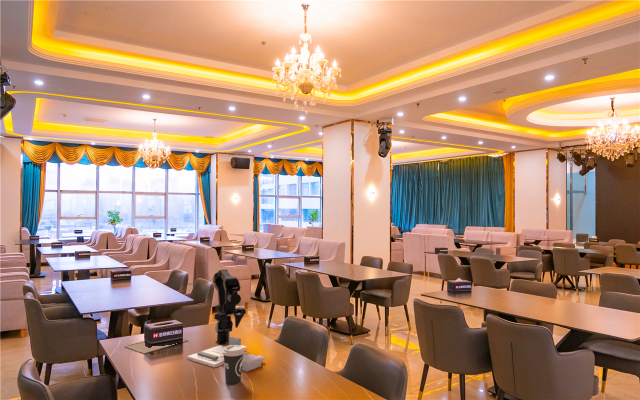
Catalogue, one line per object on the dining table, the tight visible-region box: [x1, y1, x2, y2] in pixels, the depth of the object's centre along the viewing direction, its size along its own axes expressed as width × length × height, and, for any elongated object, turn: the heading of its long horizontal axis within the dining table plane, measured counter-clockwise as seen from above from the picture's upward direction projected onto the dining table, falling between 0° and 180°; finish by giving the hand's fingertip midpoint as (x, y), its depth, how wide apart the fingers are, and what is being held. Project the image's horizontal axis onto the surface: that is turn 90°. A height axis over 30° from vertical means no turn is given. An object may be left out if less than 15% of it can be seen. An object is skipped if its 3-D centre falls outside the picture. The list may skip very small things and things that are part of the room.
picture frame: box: [124, 338, 189, 355], centre depth 242 cm, size 19×1×28 cm
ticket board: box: [187, 344, 248, 368], centre depth 222 cm, size 22×20×3 cm
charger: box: [242, 353, 266, 373], centre depth 210 cm, size 5×9×15 cm
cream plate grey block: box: [223, 336, 247, 350], centre depth 232 cm, size 8×10×5 cm
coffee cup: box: [222, 345, 245, 386], centre depth 190 cm, size 10×10×15 cm
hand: (230, 329), depth 233 cm, fingers open, 9 cm apart
